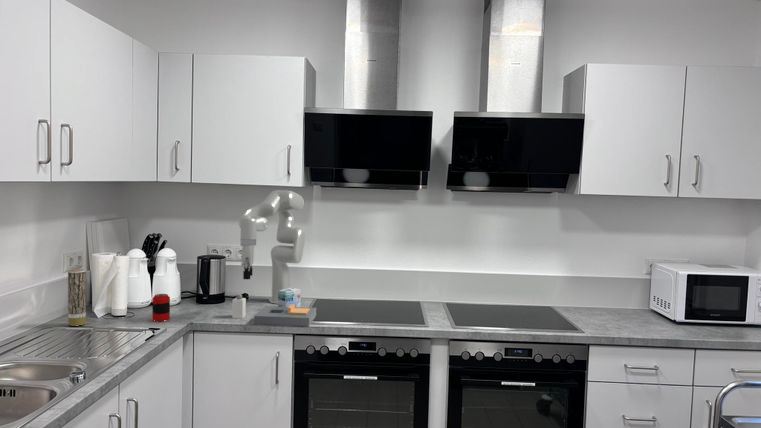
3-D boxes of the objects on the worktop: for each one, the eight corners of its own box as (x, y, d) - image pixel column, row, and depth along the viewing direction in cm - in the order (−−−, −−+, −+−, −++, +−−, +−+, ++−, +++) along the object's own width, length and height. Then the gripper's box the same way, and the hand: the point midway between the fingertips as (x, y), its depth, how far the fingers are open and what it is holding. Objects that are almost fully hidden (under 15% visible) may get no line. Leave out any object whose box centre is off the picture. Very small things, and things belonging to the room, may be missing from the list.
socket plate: (265, 313, 263) (265, 305, 263) (316, 315, 262) (316, 307, 261) (254, 324, 243) (254, 315, 243) (308, 326, 242) (309, 318, 241)
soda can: (152, 322, 241) (152, 297, 240) (152, 318, 248) (152, 293, 247) (169, 321, 244) (169, 296, 243) (169, 317, 251) (169, 293, 250)
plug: (235, 315, 258) (235, 293, 257) (245, 315, 258) (245, 294, 257) (232, 318, 253) (232, 295, 252) (242, 318, 253) (242, 296, 252)
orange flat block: (291, 309, 256) (291, 303, 256) (309, 310, 256) (309, 304, 256) (287, 313, 247) (287, 308, 247) (306, 314, 247) (306, 308, 247)
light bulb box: (286, 312, 266) (286, 292, 265) (277, 310, 270) (277, 290, 269) (301, 309, 275) (301, 289, 274) (292, 307, 279) (292, 287, 278)
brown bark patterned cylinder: (66, 327, 229) (65, 271, 228) (70, 323, 236) (70, 269, 234) (83, 327, 231) (83, 271, 229) (87, 323, 237) (87, 269, 236)
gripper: (242, 240, 261) (242, 274, 262) (238, 244, 243) (237, 280, 244) (257, 240, 262) (257, 274, 263) (254, 244, 245) (254, 280, 246)
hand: (247, 277), depth 254 cm, fingers open, 9 cm apart
